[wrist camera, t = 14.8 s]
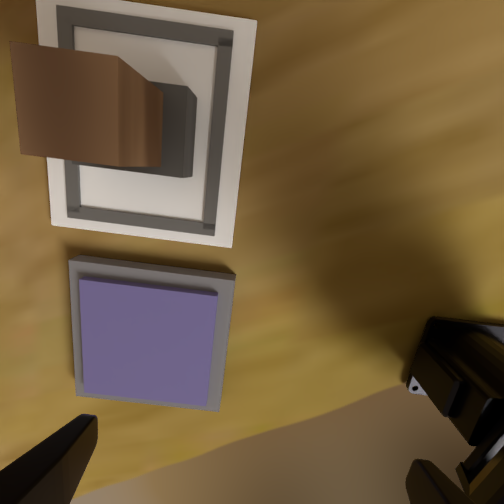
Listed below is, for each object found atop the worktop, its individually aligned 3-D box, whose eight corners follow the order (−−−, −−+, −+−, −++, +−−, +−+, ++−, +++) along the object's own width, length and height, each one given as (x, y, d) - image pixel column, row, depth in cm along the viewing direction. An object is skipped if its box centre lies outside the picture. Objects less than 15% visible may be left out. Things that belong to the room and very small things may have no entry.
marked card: (257, 23, 16) (257, 18, 15) (232, 246, 20) (231, 248, 19) (40, -8, 16) (32, -15, 15) (55, 224, 19) (49, 225, 19)
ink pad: (236, 274, 20) (234, 284, 19) (220, 399, 23) (218, 418, 22) (79, 254, 20) (62, 263, 18) (84, 384, 23) (71, 401, 21)
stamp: (197, 97, 17) (153, 45, 10) (192, 176, 18) (150, 182, 11) (94, 83, 17) (-29, 20, 9) (96, 164, 18) (-11, 162, 11)
